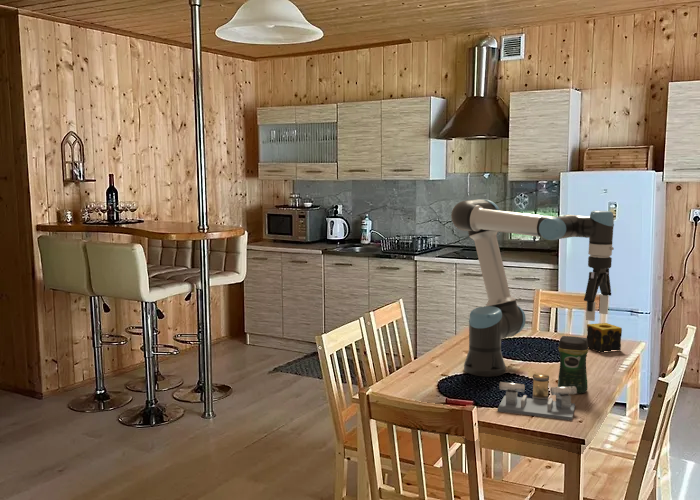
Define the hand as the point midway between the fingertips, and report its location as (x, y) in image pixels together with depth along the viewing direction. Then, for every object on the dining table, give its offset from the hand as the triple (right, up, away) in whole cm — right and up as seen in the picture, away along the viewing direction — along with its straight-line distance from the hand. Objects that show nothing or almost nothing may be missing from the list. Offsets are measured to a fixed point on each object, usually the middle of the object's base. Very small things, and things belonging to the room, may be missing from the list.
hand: (596, 317), depth 237 cm
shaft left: (-34, -26, -20) cm, 47 cm away
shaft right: (-19, -27, -24) cm, 40 cm away
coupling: (-23, -26, -13) cm, 37 cm away
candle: (+20, -18, +49) cm, 56 cm away
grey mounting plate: (-27, -27, -23) cm, 44 cm away
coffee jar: (-10, -25, -5) cm, 27 cm away
